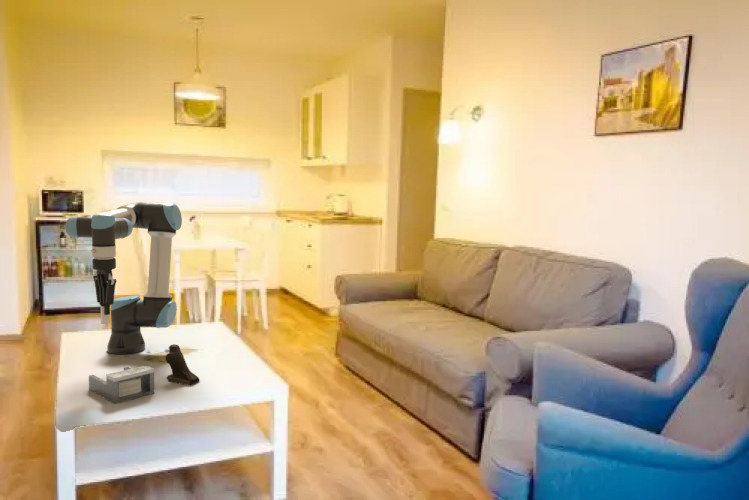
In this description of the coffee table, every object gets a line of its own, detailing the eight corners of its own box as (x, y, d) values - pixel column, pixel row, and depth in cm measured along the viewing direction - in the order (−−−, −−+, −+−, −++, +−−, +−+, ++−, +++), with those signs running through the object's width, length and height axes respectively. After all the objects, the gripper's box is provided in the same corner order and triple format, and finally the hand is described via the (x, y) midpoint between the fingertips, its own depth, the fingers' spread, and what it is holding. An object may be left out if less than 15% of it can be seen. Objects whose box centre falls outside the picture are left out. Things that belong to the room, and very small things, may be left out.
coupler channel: (89, 389, 203) (88, 365, 202) (127, 380, 214) (127, 357, 213) (114, 403, 191) (113, 378, 190) (154, 393, 202) (153, 368, 201)
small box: (109, 391, 199) (108, 377, 198) (132, 386, 205) (131, 372, 204) (118, 397, 194) (118, 383, 193) (141, 392, 199) (141, 377, 199)
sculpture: (173, 376, 220) (172, 342, 219) (200, 381, 215) (199, 346, 213) (162, 380, 215) (161, 346, 213) (189, 386, 210) (189, 350, 208)
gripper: (85, 256, 206) (86, 321, 208) (101, 260, 197) (103, 328, 200) (106, 255, 211) (107, 318, 214) (123, 259, 203) (124, 324, 206)
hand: (105, 323), depth 207 cm, fingers closed
